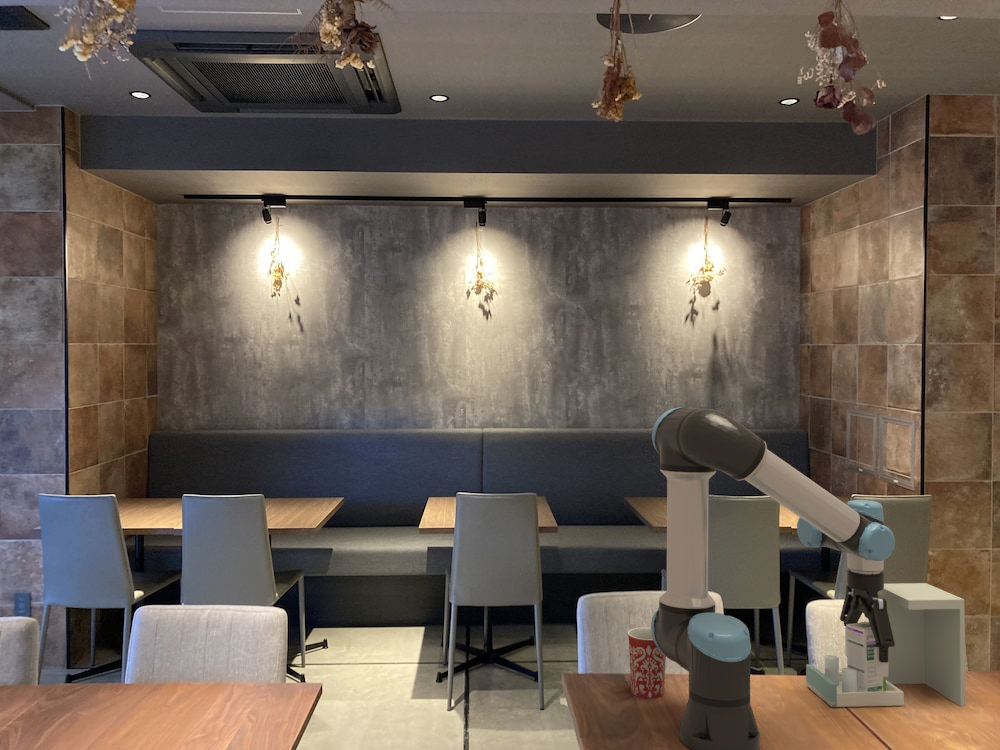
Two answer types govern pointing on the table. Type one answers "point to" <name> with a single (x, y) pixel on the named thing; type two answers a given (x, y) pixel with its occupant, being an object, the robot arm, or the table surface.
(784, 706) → the table surface
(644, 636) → the mug
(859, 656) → the syrup box
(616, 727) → the table surface
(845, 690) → the tray
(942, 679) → the white open shelf
